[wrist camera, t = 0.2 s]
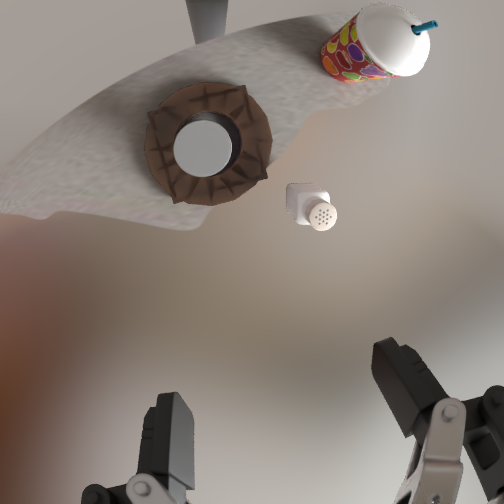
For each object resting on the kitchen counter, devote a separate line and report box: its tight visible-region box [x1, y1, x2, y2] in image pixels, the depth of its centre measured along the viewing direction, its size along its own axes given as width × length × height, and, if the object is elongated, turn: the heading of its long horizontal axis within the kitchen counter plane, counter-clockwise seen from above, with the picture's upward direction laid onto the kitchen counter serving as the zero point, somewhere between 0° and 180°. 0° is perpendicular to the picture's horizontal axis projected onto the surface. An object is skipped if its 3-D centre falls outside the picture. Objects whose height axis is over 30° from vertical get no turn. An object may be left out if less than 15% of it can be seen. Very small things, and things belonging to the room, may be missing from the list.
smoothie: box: [320, 3, 438, 82], centre depth 22 cm, size 8×8×20 cm
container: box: [173, 120, 232, 177], centre depth 27 cm, size 5×5×15 cm
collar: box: [145, 82, 273, 206], centre depth 33 cm, size 15×15×2 cm
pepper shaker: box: [286, 183, 337, 231], centre depth 34 cm, size 4×4×10 cm
